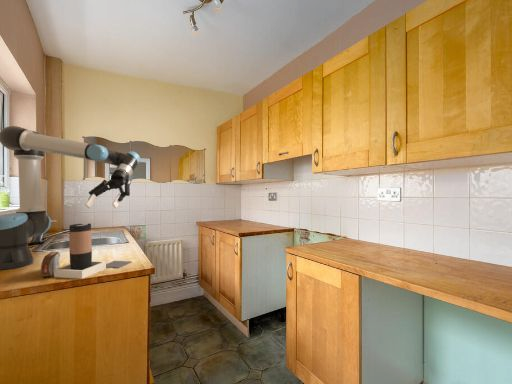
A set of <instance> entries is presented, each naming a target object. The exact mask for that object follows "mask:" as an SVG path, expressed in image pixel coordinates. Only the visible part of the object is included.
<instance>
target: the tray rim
mask: <svg viewBox="0 0 512 384" xmlns="http://www.w3.org/2000/svg"><path fill="white" fill-rule="evenodd" d="M106 264H107V261H100V260H92V267H89V268H87V269H84V270H70V263H69V264H67V265H63V266H61V267H60V266H59V268H57V269H54V274H53V278H61V279H62V278H64V279H79V280H80V279H81V280H82V279H86V278H87V277H90V276H92V275H95V274H96V273H97V274H98V273H99V272H101V271H104V270H106V269H107V268H106Z"/></svg>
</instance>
